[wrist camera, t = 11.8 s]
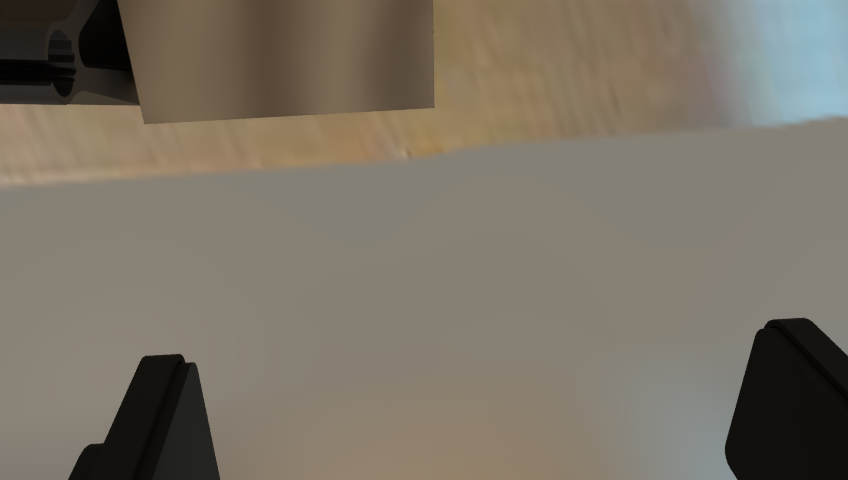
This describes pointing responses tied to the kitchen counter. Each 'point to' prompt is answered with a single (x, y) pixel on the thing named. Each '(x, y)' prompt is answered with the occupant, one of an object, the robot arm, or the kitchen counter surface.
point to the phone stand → (64, 53)
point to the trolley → (278, 57)
